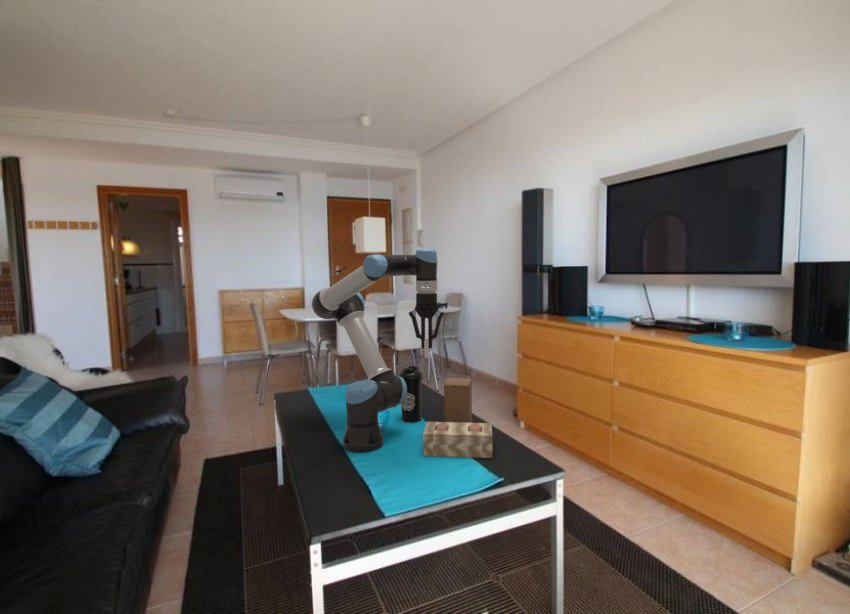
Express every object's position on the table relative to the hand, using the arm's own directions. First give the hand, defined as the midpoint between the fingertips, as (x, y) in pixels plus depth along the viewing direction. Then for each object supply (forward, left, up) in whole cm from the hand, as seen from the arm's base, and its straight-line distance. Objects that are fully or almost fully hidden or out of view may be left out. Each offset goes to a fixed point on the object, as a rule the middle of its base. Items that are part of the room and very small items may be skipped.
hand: (426, 357), depth 159 cm
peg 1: (+5, -2, -33) cm, 34 cm away
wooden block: (+10, +18, -34) cm, 40 cm away
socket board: (+11, -2, -34) cm, 36 cm away
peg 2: (+17, -2, -33) cm, 37 cm away
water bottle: (-11, +28, -34) cm, 45 cm away
